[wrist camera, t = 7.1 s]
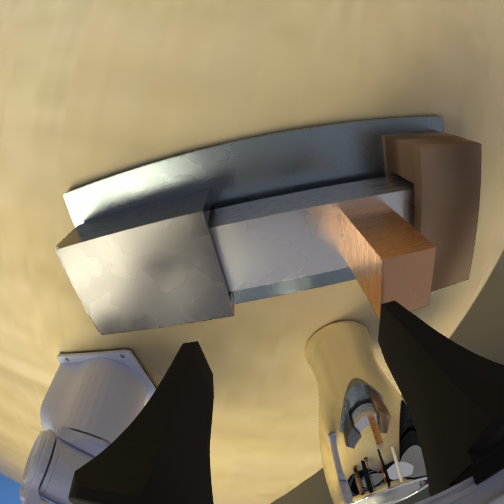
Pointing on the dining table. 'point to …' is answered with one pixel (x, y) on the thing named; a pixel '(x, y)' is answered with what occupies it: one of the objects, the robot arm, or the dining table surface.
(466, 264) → the socket block
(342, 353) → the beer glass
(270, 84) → the dining table surface
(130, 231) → the outer sleeve
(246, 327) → the dining table surface
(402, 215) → the grey slider with handle
